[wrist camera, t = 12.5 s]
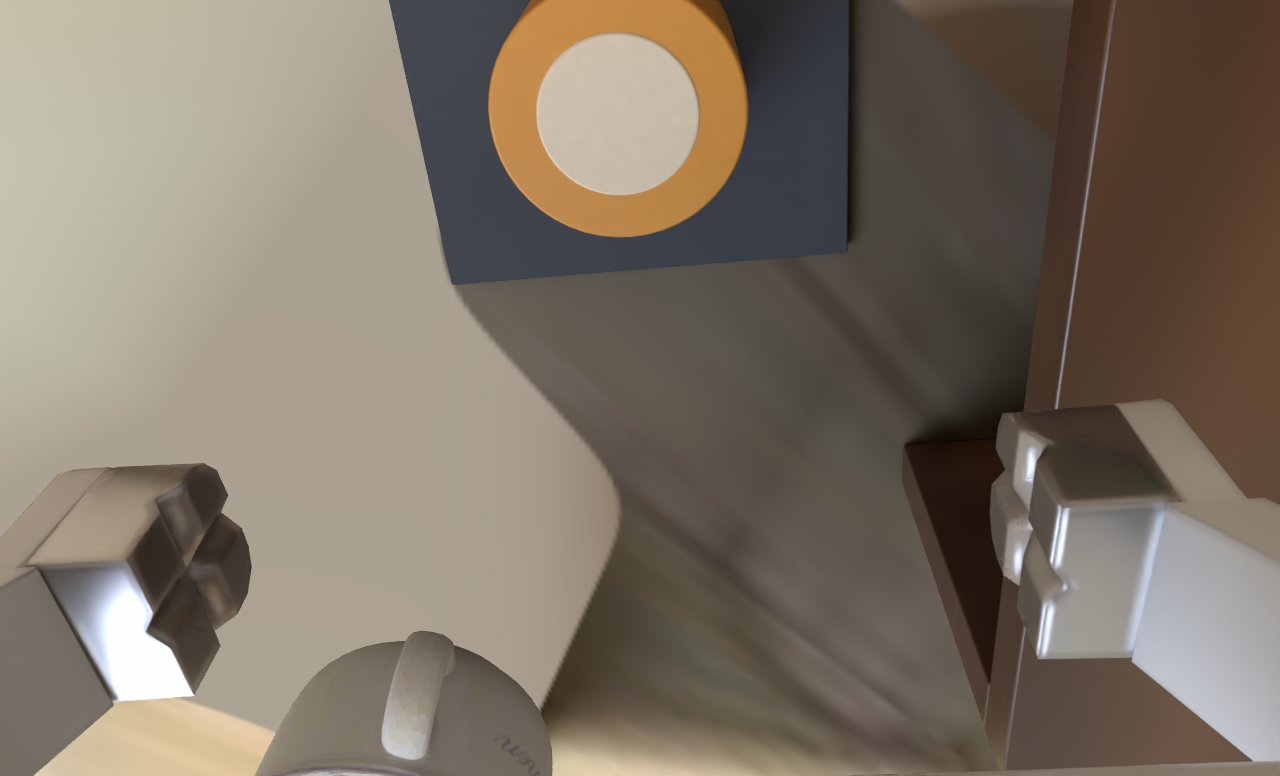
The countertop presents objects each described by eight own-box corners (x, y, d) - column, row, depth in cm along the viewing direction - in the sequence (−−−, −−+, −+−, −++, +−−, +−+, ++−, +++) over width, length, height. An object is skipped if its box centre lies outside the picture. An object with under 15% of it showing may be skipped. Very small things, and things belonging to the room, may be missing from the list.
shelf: (1549, -251, 23) (2271, -277, 12) (1323, 454, 33) (1616, 754, 23) (932, -181, 24) (1133, -152, 14) (901, 481, 34) (1001, 780, 24)
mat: (849, -219, 23) (852, -219, 23) (845, 247, 30) (847, 252, 29) (357, -162, 24) (352, -161, 24) (454, 279, 30) (451, 285, 30)
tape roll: (730, -66, 25) (743, -37, 21) (741, 164, 28) (754, 228, 24) (496, -41, 25) (464, -7, 21) (533, 183, 28) (511, 249, 24)
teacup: (509, 805, 44) (480, 992, 37) (269, 735, 42) (192, 921, 35) (632, 596, 37) (625, 778, 30) (354, 501, 35) (279, 674, 28)
